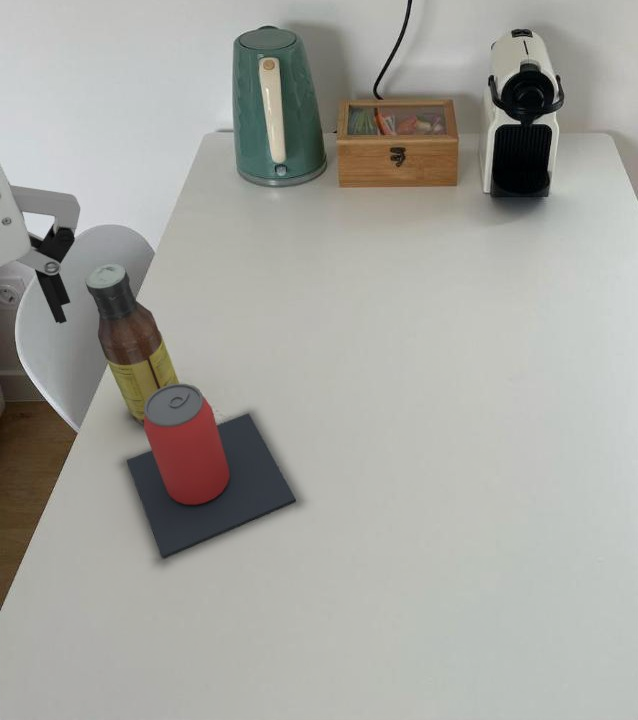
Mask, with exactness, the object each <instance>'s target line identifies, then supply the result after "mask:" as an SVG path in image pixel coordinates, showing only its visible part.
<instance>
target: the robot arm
mask: <svg viewBox="0 0 638 720" xmlns="http://www.w3.org/2000/svg"><path fill="white" fill-rule="evenodd" d="M24 213H27V214H37V215H44V216H50V217H54V218H53V219H54V220H53V223H52V225H51V226H50V228H49V230H48V231H47V233H46V234H45V236H44V237H40V236H39V235H37V234H35V233H32V232H31V231H29V230H28V228H27V225H26V221H25V217H24ZM80 213H81V205H80V203H79V201H78V199H77V197H76V196H75V195H74V194H72V193H64V192H59V191H51V190H46V189H38V188H32V187H25V186H18V185H13V184H12V185H11V183H10V181H9V179H8V177H7V175H6V173H5V171H4V168H3V166H2V165H1V163H0V267H3V266H6V265H10V264H11V263H14V262H18V263H20V264H23V265H25V266H26V267H29V268H32V269H33V270H34V272H35V275H36V278H37V281H38V283H39V286H40V289H41V290H42V293H43V295H44V297H45V300H46V302H47V305H48V308H49V309H50V312H51V314H52V316H53V320H54V321H55V323H56V324H57V323H58V324H60V325H61V324H64V323H67V322H68V320H67V318H66V315H65V312H64V309H63V306H64V305H68V304H71V302H72V301H71V299H70V297H69V294H68V291H67V289H66V286H65V284H64V281H63V279H62V277H61V276H62V275H61V274H60V272H61V270H62V265H61V264H62V262H63V260H64V259H65V258H66V256H67V255H68V252H69V251H70V249H71V248H72V246H73V245H74V243H75V240H76V237H75V233H76V230H77V228H78V223H79V219H80Z"/></svg>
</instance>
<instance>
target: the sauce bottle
mask: <svg viewBox="0 0 638 720" xmlns="http://www.w3.org/2000/svg"><path fill="white" fill-rule="evenodd" d="M130 280H131V279H130V276H129V274H128V273H127V269H126V268H125V267H124V266H123V265H121V264H119V263H107V264H101V265H97V266H95V267H94V268H92V269H91V270H89V272H88V273H87V274H86V275H85V278H84V282H85V286H86V289H87V291H88V293H89V295H91V296H92V298H93V300H94V304H95V305H96V307H97V312H98V314H99V317H98V318H99V322H98V329H97V337H98V341H99V344H100V346H101V349H102V352H103V355H104V357H105V360H106V362H107V364H108V367H109V370H110V371H111V374H112V376H113V378H114V381H115V383H116V385H117V387H118V389H119V391H120V393H121V396H122V397H123V401H124V402H125V405H126V407H127V409H128V411H129V413H130V414H131V415H132V417H133V419H134V420H135V421H136V422H137V423H139V424H141V425H143V426H144V415H145V414H144V406H145V403H146V401H147V399H148V398H149V397H150V396H151V395H152V394H153V393H154V392H156V391H157V390H158V389H160V388H162V387H165V386H167V385H172V384H181V382H180V381H179V378H178V375H177V373H176V370H175V367H174V365H173V362H172V359H171V357H170V354H169V352H168V349H167V346H166V343H165V341H164V338H163V335H162V332H161V331H160V330H159V328H158V325H157V322H156V320H155V317H154V315H153V313H152V311H151V310H149V309H147V308H146V307H145V306H143V305H142V304H141V303H140V302H138V300H137V298H136V297H135V296H134V292H133V291H132V288H131V285H130Z"/></svg>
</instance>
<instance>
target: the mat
mask: <svg viewBox="0 0 638 720" xmlns="http://www.w3.org/2000/svg"><path fill="white" fill-rule="evenodd" d="M216 425H217V428H218V432H219V436H220V439H221V443H222V446H223V450H224V454H225V457H226V461H227V464H228V468H229V475H230V476H229V480H228V484H227V486H226V487H225V488H224V490H223V491H222V493H220V494H219V495H218V496H217V497H215V498H214V499H212V500H210V501H208V502H206V503H202V504H197V505H186V504H183V503H180V502H177V501H176V500H174V499H173V498H172V497H170V495H169V493H168V491H167V489H166V487H165V484H164V481H163V479H162V476H161V473H160V471H159V468H158V465H157V462H156V460H155V457H154V454H153V452H152V450H149V451H146V452H143V453H141V454H139V455H137V456H133V457H131V458H128V459H126V462H127V465H128V467H129V470H130V473H131V475H132V478H133V481H134V484H135V486H136V489H137V492H138V495H139V497H140V500H141V503H142V506H143V508H144V511H145V515H146V517H147V519H148V522H149V524H150V527H151V530H152V533H153V535H154V536H153V537H154V539H155V541H156V544H157V547H158V549H159V552H160V555H161V557H162V559H165V558H168V557H170V556H173V555H174V554H177V553H179V552H181V551H183V550H186V549H188V548H190V547H193V546H195V545H197V544H199V543H202V542H205V541H207V540H209V539H211V538H214V537H216V536H218V535H221V534H223V533H225V532H227V531H230V530H232V529H235V528H237V527H239V526H241V525H244V524H247V523H248V522H251V521H253V520H256V519H258V518H260V517H262V516H265V515H266V514H269V513H272V512H274V511H277V510H279V509H281V508H283V507H285V506H288V505H290V504H293V503H295V502H296V501H297V499H296V497H295V495H294V493H293V492H292V489H291V488H290V486H289V484H288V482H287V480H286V479H285V477H284V475H283V473H282V472H281V470H280V468H279V466H278V464H277V462H276V460H275V459H274V457H273V455H272V453H271V451H270V449H269V448H268V446H267V444H266V442H265V440H264V439H263V436H262V435H261V433H260V431H259V429H258V427H257V426H256V424H255V421H254V420H253V418H252V416H251V414H250V413H249V412H248V413H245V414H243V415H241V416H238V417H235V418H233V419H230V420H228V421H225V422H222V423H219V424H216Z"/></svg>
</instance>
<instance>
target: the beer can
mask: <svg viewBox="0 0 638 720" xmlns="http://www.w3.org/2000/svg"><path fill="white" fill-rule="evenodd" d="M144 414H145V415H144V425H143V428H144V429H143V430H144V432H145V433H144V434H145V435H146V438H147V441H148V443H149V446H150V449H151V451H152V452H153V454H154V457H155V460H156V462H157V465H158V468H159V471H160V473H161V476H162V479H163V481H164V484H165V487H166V489H167V491H168V493H169V495H170V497H172V498H173V499H174V500H176V501H177V502H180V503H183V504H186V505H197V504H202V503H206V502H208V501H210V500H212V499H214V498H215V497H217V496H218V495H219V494H220V493H222V491H223V490H224V488H225V487H226V486H227V484H228V480H229V476H230V475H229V468H228V464H227V461H226V457H225V454H224V450H223V446H222V443H221V439H220V436H219V432H218V428H217V425H218V424H217V421H216V418H215V415H214V411H213V408H212V407H211V405H210V403H209V402H208V400H207V399H206V398H205V397H204V395H203V393H202V392H201V390H200V389H199V388H198V387H196V386H194V385H192V384H188V383H180V384H172V385H167V386H165V387H162V388H160V389H158V390H157V391H156V392H154V393H153V394H152V395H151V396H150V397H149V398H148V399H147V401H146V403H145V406H144Z"/></svg>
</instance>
